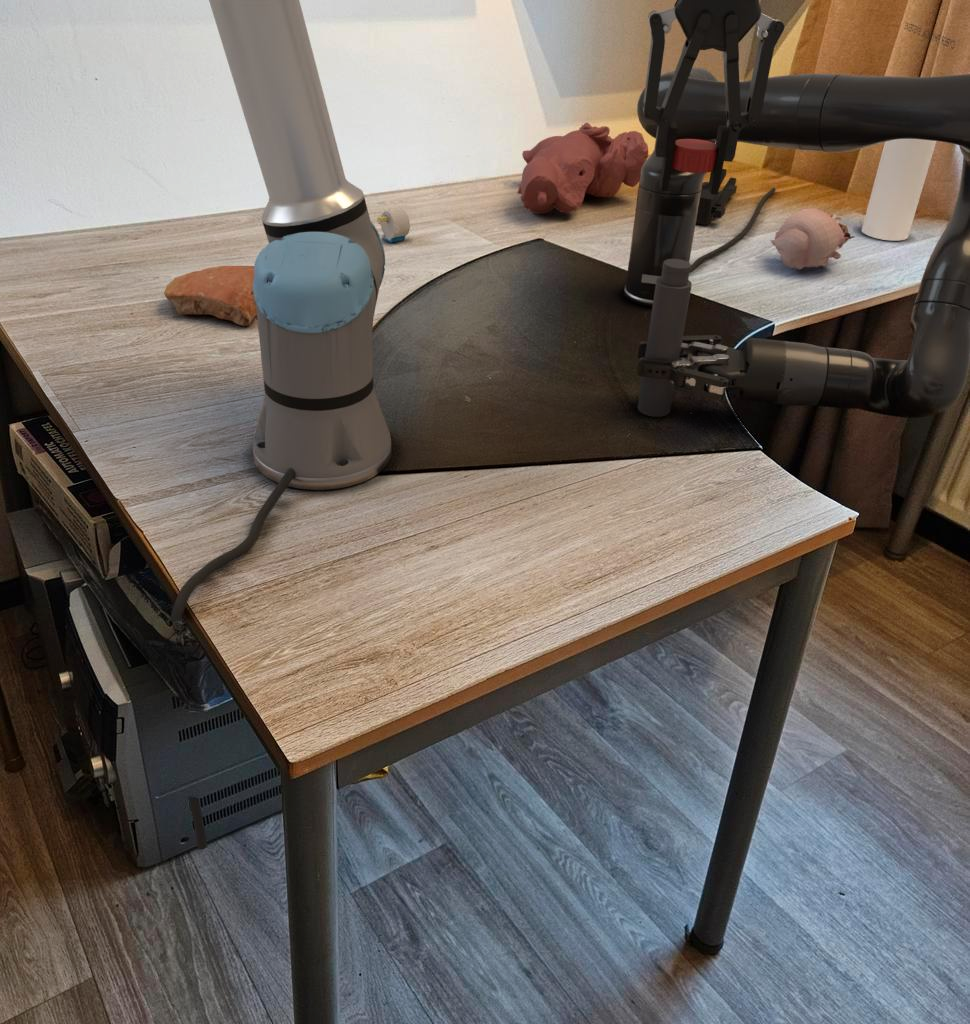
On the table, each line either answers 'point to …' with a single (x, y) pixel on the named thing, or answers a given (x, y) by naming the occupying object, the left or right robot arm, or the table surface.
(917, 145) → the tall white tube
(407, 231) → the electric motor
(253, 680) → the table surface
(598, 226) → the table surface
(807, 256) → the toy
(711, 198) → the black forked piece
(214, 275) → the ceramic shard
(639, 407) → the bottle
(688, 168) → the lid
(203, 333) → the table surface
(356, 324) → the left robot arm
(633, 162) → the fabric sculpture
